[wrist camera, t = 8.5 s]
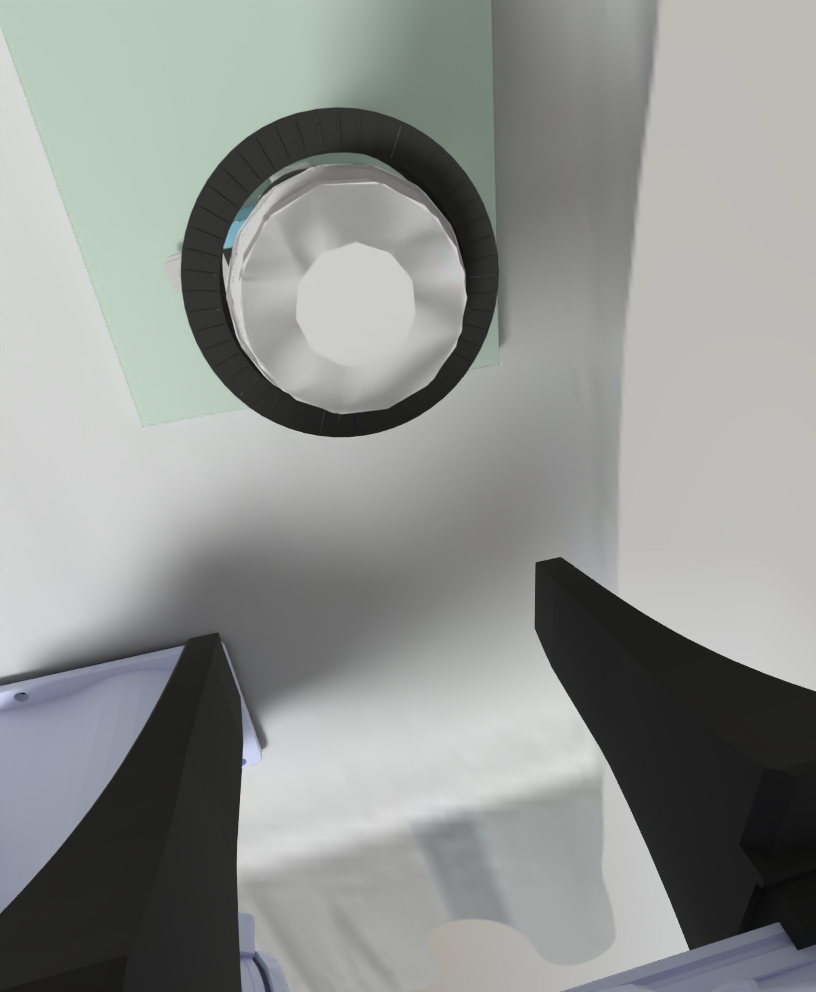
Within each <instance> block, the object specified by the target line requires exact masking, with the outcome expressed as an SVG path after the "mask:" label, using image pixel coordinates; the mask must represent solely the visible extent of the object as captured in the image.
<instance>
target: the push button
mask: <svg viewBox="0 0 816 992" xmlns="http://www.w3.org/2000/svg"><path fill="white" fill-rule="evenodd" d="M328 153H356V154H364V155H367V156H370V157H373V158H375V159H377V160H379V161H381V162H383V163H385V164H387V165H388V166H390V167H391V168H393V169H394V170H396V171H397V172H398V173H400V174H401V175H402V176H403V177H404V178H405V179H406V180H405V179H403V178H401V177H399V176H397V175H395V174H393V173H391V172H389V171H387V170H385V169H382V168H380V167H378V166H374V165H370V164H366V163H359V164H322V165H318V166H313V167H311V165H310V164H309V163H308V162H306V161H305V162H301V163H297V164H294V165H291V164H293V163H295V162H297V161H300V160H303V159H306V158H309V157H312V156H317V155H322V154H328ZM289 165H291V166H289ZM287 166H288V167H287ZM269 177H270V180H271V183H272V184H271V185H269V186H268V187H267V188H266V189H265V191H264V192H263V193H262V194H261V195H259V200H260V201H259V202H258V204H255V205H252V206H249V207H245V208H242V209H241V207H242V206H243V204H244V203H245V201H246V200H247V199H248V198H249V197H250V195H251V194H252V193H253V192H254V191H255V190H256V189H257V188H258V187H259V186H260V185H261V184H262V183H263V182H264V181H266V180H267V179H268V178H269ZM164 269H165V272H166V274H167V276H168V278H169V280H170V282H171V285H172V287H173V289H174V290H175V291H177V292H180V291H182V295H183V301H184V307H185V311H186V315H187V318H188V322H189V326H190V328H191V331H192V333H193V336H194V338H195V341H196V343H197V345H198V347H199V349H200V351H201V353H202V355H203V356H204V358H205V360H206V361H207V363H208V364H209V366H210V367H211V369H212V370H213V372H214V373H215V374H216V375H217V377H218V378H219V379H220V380H221V382H222V383H223V384H224V385H225V386H226V387H227V388H228V389H229V390H230V391H231V392H232V393H233V394H234V395H235V396H236V397H237V398H238V399H240V400H241V401H242V402H243V403H244V404H246V405H247V406H248V407H250V408H251V409H253V410H254V411H256V412H257V413H259V414H260V415H262V416H264V417H265V418H267V419H269V420H271V421H273V422H275V423H277V424H280V425H282V426H285V427H287V428H290V429H293V430H296V431H300V432H303V433H307V434H313V435H318V436H327V437H354V436H364V435H369V434H374V433H379V432H382V431H385V430H388V429H392V428H394V427H397V426H399V425H402V424H404V423H406V422H408V421H410V420H412V419H414V418H416V417H418V416H420V415H421V414H423V413H424V412H426V411H427V410H429V409H430V408H432V407H433V406H434V405H435V404H437V403H438V402H439V401H440V400H442V399H443V398H444V397H445V396H446V395H447V394H448V393H449V392H450V391H451V390H452V389H453V388H454V387H455V386H456V385H457V384H458V382H459V381H460V380H461V379H462V378H463V377H464V375H465V374H466V372H467V371H468V370H469V368H470V367H471V365H472V364H473V362H474V360H475V359H476V357H477V355H478V353H479V352H480V350H481V348H482V345H483V343H484V341H485V339H486V336H487V334H488V331H489V328H490V325H491V322H492V319H493V314H494V310H495V306H496V300H497V292H498V276H499V268H498V254H497V247H496V241H495V236H494V232H493V229H492V225H491V221H490V218H489V216H488V213H487V211H486V208H485V205H484V203H483V201H482V199H481V197H480V195H479V193H478V191H477V189H476V187H475V186H474V184H473V183H472V181H471V180H470V178H469V177H468V175H467V174H466V172H465V171H464V170H463V169H462V167H461V166H460V165H459V164H458V163H457V161H456V160H455V159H454V158H453V157H452V156H451V155H450V154H449V153H448V152H447V151H446V150H445V149H444V148H443V147H442V146H441V145H439V144H438V143H437V142H435V141H434V140H433V139H432V138H430V137H429V136H428V135H426V134H425V133H423V132H421V131H420V130H418V129H416V128H415V127H413V126H411V125H409V124H407V123H405V122H403V121H400V120H398V119H396V118H394V117H391V116H388V115H384V114H381V113H378V112H374V111H369V110H363V109H358V108H342V107H333V108H320V109H313V110H308V111H304V112H299V113H295V114H292V115H289V116H286V117H283V118H280V119H278V120H276V121H274V122H272V123H270V124H268V125H266V126H264V127H262V128H260V129H259V130H257V131H256V132H254V133H252V134H251V135H249V136H248V137H246V138H245V139H244V140H243V141H242V142H240V143H239V144H238V145H237V146H236V147H235V148H233V149H232V150H231V151H230V152H229V153H228V154H227V156H226V157H225V158H224V159H223V160H222V161H221V162H220V163H219V164H218V166H217V167H216V168H215V170H214V171H213V173H212V174H211V175H210V177H209V178H208V180H207V181H206V183H205V185H204V186H203V188H202V190H201V192H200V194H199V195H198V197H197V200H196V202H195V204H194V207H193V209H192V212H191V214H190V217H189V221H188V224H187V228H186V231H185V235H184V241H183V247H182V252H181V253H178V254H175V255H171V256H169V257H168V260H167V262H165V264H164ZM224 283H226V290H225V284H224Z"/></svg>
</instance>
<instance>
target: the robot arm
mask: <svg viewBox="0 0 816 992" xmlns="http://www.w3.org/2000/svg"><path fill="white" fill-rule="evenodd" d="M535 630H536V632H537V635H538V637H539V639H540V642H541V644H542V647H543V649H544V651H545V653H546V656H547V658H548V660H549V662H550V664H551V667H552V668H553V670H554V672H555V673H556V675H557V677H558V679H559V680H560V682H561V684H562V685H563V687H564V689H565V690H566V692H567V694H568V695H569V697H570V699H571V700H572V702H573V704H574V705H575V707H576V709H577V710H578V712H579V714H580V715H581V717H582V719H583V720H584V722H585V724H586V725H587V727H588V729H589V730H590V732H591V734H592V735H593V737H594V739H595V740H596V742H597V744H598V745H599V747H600V749H601V750H602V752H603V754H604V756H605V758H606V760H607V761H608V763H609V765H610V767H611V769H612V771H613V773H614V776H615V778H616V780H617V782H618V784H619V786H620V788H621V790H622V792H623V795H624V797H625V799H626V801H627V803H628V805H629V807H630V809H631V812H632V814H633V816H634V818H635V821H636V823H637V825H638V827H639V829H640V831H641V834H642V836H643V838H644V840H645V843H646V845H647V847H648V849H649V852H650V854H651V857H652V859H653V861H654V864H655V866H656V868H657V871H658V873H659V876H660V878H661V880H662V883H663V885H664V887H665V890H666V892H667V894H668V897H669V899H670V902H671V904H672V907H673V909H674V912H675V914H676V917H677V919H678V922H679V924H680V927H681V929H682V932H683V934H684V937H685V939H686V942H687V944H688V947H689V949H690V951H687V952H684V953H680V954H678V955H674V956H671V957H668V958H665V959H662V960H658V961H655V962H652V963H649V964H646V965H643V966H640V967H637V968H633V969H631V970H627V971H624V972H621V973H618V974H615V975H612V976H608V977H605V978H602V979H599V980H596V981H593V982H590V983H587V984H584V985H580V986H577V987H574V988H571V989H568V990H565V991H562V992H816V691H813V690H810V689H807V688H804V687H801V686H798V685H795V684H792V683H789V682H786V681H783V680H781V679H778V678H775V677H773V676H770V675H767V674H764V673H762V672H760V671H757V670H755V669H752V668H750V667H748V666H745V665H743V664H740V663H738V662H735V661H733V660H731V659H729V658H726V657H724V656H722V655H720V654H718V653H716V652H714V651H712V650H709V649H707V648H705V647H703V646H701V645H699V644H697V643H695V642H693V641H691V640H689V639H687V638H685V637H683V636H682V635H680V634H678V633H676V632H674V631H673V630H671V629H669V628H667V627H666V626H664V625H662V624H661V623H659V622H657V621H655V620H654V619H652V618H650V617H649V616H647V615H645V614H643V613H642V612H640V611H639V610H637V609H636V608H634V607H633V606H631V605H630V604H628V603H626V602H625V601H623V600H622V599H620V598H619V597H617V596H616V595H614V594H613V593H611V592H610V591H608V590H607V589H606V588H604V587H603V586H601V585H600V584H598V583H597V582H596V581H594V580H593V579H591V578H590V577H588V576H587V575H586V574H584V573H583V572H581V571H580V570H579V569H577V568H576V567H574V566H573V565H572V564H570V563H569V562H567V561H566V560H564V559H563V558H561V557H558V558H554V559H549V560H545V561H540V562H536V573H535ZM20 693H26V694H20ZM261 760H262V749H261V747H260V744H259V741H258V738H257V735H256V732H255V729H254V726H253V724H252V721H251V718H250V715H249V712H248V709H247V706H246V704H245V701H244V698H243V695H242V692H241V689H240V686H239V683H238V681H237V678H236V675H235V672H234V669H233V666H232V663H231V661H230V658H229V655H228V652H227V649H226V646H225V644H224V643H223V642H222V641H221V640H220V637H219V634H218V633H214V634H210V635H205V636H201V637H196V638H192V639H189V640H188V641H187V642H186V644H185V645H183V646H179V647H174V648H170V649H165V650H161V651H156V652H152V653H147V654H143V655H138V656H134V657H129V658H125V659H120V660H116V661H111V662H107V663H102V664H98V665H93V666H89V667H84V668H80V669H75V670H71V671H66V672H62V673H57V674H53V675H48V676H44V677H39V678H35V679H30V680H26V681H21V682H17V683H12V684H8V685H3V686H0V992H290V990H289V988H288V983H287V981H286V978H285V975H284V972H283V970H282V968H281V966H280V965H279V963H278V961H277V960H276V959H275V958H274V957H273V956H272V955H271V954H269V953H267V952H264V951H255V946H254V915H252V914H247V913H242V912H239V911H238V897H237V837H238V821H239V806H240V791H241V775H242V768H246V767H250V766H253V765H256V764H258V763H259V762H261Z"/></svg>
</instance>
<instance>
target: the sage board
mask: <svg viewBox="0 0 816 992" xmlns="http://www.w3.org/2000/svg"><path fill="white" fill-rule="evenodd" d="M0 26H1V29H2V32H3V35H4V38H5V41H6V43H7V46H8V49H9V52H10V55H11V57H12V60H13V63H14V66H15V69H16V72H17V74H18V77H19V80H20V83H21V86H22V88H23V91H24V94H25V97H26V100H27V103H28V105H29V108H30V111H31V114H32V117H33V119H34V122H35V125H36V128H37V131H38V134H39V136H40V139H41V142H42V145H43V148H44V150H45V153H46V156H47V159H48V162H49V165H50V167H51V170H52V173H53V176H54V179H55V181H56V184H57V187H58V190H59V193H60V196H61V198H62V201H63V204H64V207H65V210H66V212H67V215H68V218H69V221H70V224H71V227H72V229H73V232H74V235H75V238H76V241H77V243H78V246H79V249H80V252H81V255H82V258H83V260H84V263H85V266H86V269H87V272H88V274H89V277H90V280H91V283H92V286H93V289H94V291H95V294H96V297H97V300H98V303H99V305H100V308H101V311H102V314H103V317H104V320H105V322H106V325H107V328H108V331H109V334H110V336H111V339H112V342H113V345H114V348H115V351H116V353H117V356H118V359H119V362H120V365H121V367H122V370H123V373H124V376H125V379H126V382H127V384H128V387H129V390H130V393H131V396H132V398H133V401H134V404H135V407H136V410H137V413H138V415H139V418H140V421H141V424H142V427H144V426H149V425H155V424H161V423H167V422H172V421H178V420H184V419H190V418H195V417H201V416H207V415H212V414H218V413H224V412H230V411H235V410H241V409H247V408H250V407H248V406H247V405H246V404H244V403H243V402H242V401H241V400H240V399H238V398H237V397H236V396H235V395H234V394H233V393H232V392H231V391H230V390H229V389H228V388H227V387H226V386H225V385H224V384H223V383H222V382H221V380H220V379H219V378H218V377H217V375H216V374H215V373H214V372H213V370H212V369H211V367H210V366H209V364H208V363H207V361H206V360H205V358H204V356H203V355H202V353H201V351H200V349H199V347H198V345H197V343H196V341H195V338H194V336H193V333H192V331H191V328H190V326H189V322H188V318H187V315H186V311H185V307H184V301H183V295H182V291H180V292H177V291H175V290H174V289H173V287H172V285H171V282H170V280H169V278H168V276H167V274H166V272H165V269H164V264H165V262H167V260H168V257H169V256H171V255H175V254H178V253H181V252H182V247H183V241H184V235H185V231H186V228H187V224H188V221H189V217H190V214H191V212H192V209H193V207H194V204H195V202H196V200H197V197H198V195H199V194H200V192H201V190H202V188H203V186H204V185H205V183H206V181H207V180H208V178H209V177H210V175H211V174H212V173H213V171H214V170H215V168H216V167H217V166H218V164H219V163H220V162H221V161H222V160H223V159H224V158H225V157H226V156H227V154H228V153H229V152H230V151H231V150H232V149H233V148H235V147H236V146H237V145H238V144H239V143H240V142H242V141H243V140H244V139H245V138H246V137H248V136H249V135H251V134H252V133H254V132H256V131H257V130H259V129H260V128H262V127H264V126H266V125H268V124H270V123H272V122H274V121H276V120H278V119H280V118H283V117H286V116H289V115H292V114H295V113H299V112H304V111H308V110H313V109H320V108H333V107H342V108H358V109H363V110H369V111H374V112H378V113H381V114H384V115H388V116H391V117H394V118H396V119H398V120H400V121H403V122H405V123H407V124H409V125H411V126H413V127H415V128H416V129H418V130H420V131H421V132H423V133H425V134H426V135H428V136H429V137H430V138H432V139H433V140H434V141H435V142H437V143H438V144H439V145H441V146H442V147H443V148H444V149H445V150H446V151H447V152H448V153H449V154H450V155H451V156H452V157H453V158H454V159H455V160H456V161H457V163H458V164H459V165H460V166H461V167H462V169H463V170H464V171H465V172H466V174H467V175H468V177H469V178H470V180H471V181H472V183H473V184H474V186H475V187H476V189H477V191H478V193H479V195H480V197H481V199H482V201H483V203H484V205H485V208H486V211H487V213H488V216H489V218H490V221H491V225H492V229H493V232H494V236H495V241H496V247H497V240H496V192H495V144H494V96H493V49H492V1H491V0H0ZM305 161H306V162H308V163H309V164H310V165H311V167H313V166H318V165H322V164H359V163H366V164H370V165H374V166H378V167H380V168H382V169H385V170H387V171H389V172H391V173H393V174H395V175H397V176H399V177H401V178H403V179H405V178H404V177H403V176H402V175H401V174H400V173H398V172H397V171H396V170H394V169H393V168H391V167H390V166H388V165H387V164H385V163H383V162H381V161H379V160H377V159H375V158H373V157H370V156H367V155H364V154H356V153H328V154H322V155H317V156H312V157H309V158H306V159H303V160H300V161H297V162H295V163H293V164H291V165H294V164H297V163H301V162H305ZM291 165H289V166H291ZM287 167H288V166H287ZM405 180H406V179H405ZM271 184H272V183H271V180H270V177H269V178H268V179H267V180H266V181H264V182H263V183H262V184H261V185H260V186H259V187H258V188H257V189H256V190H255V191H254V192H253V193H252V194H251V195H250V197H249V198H248V199H247V200H246V201H245V203H244V204H243V206H242V207H241V209H242V208H245V207H249V206H252V205H255V204H258V202H259V201H260V200H259V195H261V194H262V193H263V192H264V191H265V189H266V188H267V187H268V186H269V185H271ZM224 284H225V290H226V283H224ZM498 364H499V336H498V292H497V300H496V306H495V310H494V314H493V319H492V322H491V325H490V328H489V331H488V334H487V336H486V339H485V341H484V343H483V345H482V348H481V350H480V352H479V353H478V355H477V357H476V359H475V360H474V362H473V364H472V365H471V367H470V368H469V370H470V369H475V368H481V367H487V366H493V365H498Z"/></svg>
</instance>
